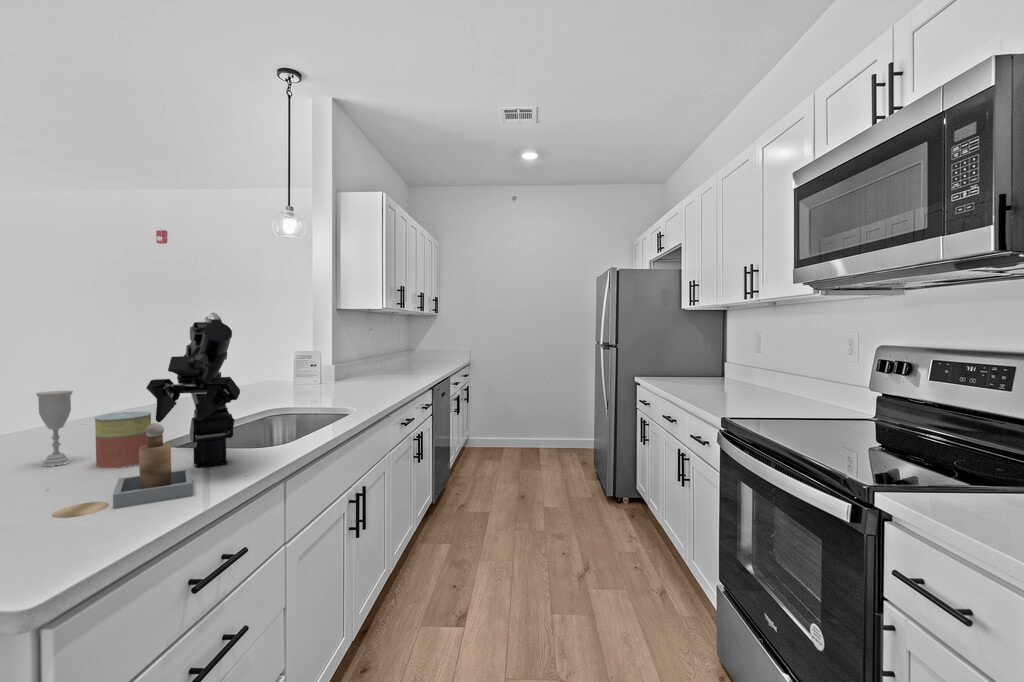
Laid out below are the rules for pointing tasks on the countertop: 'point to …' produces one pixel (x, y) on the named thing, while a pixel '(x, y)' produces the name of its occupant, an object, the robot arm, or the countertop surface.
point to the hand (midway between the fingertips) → (178, 420)
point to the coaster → (80, 509)
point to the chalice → (55, 419)
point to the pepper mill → (155, 459)
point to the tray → (152, 490)
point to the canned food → (120, 438)
